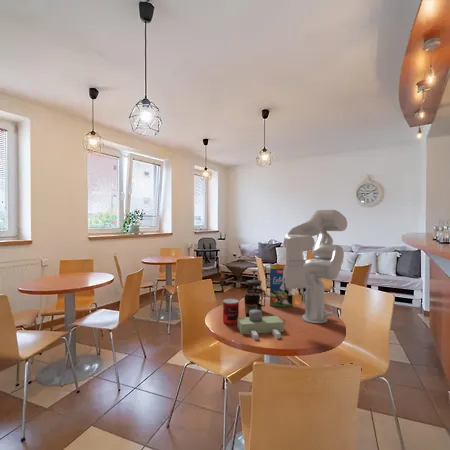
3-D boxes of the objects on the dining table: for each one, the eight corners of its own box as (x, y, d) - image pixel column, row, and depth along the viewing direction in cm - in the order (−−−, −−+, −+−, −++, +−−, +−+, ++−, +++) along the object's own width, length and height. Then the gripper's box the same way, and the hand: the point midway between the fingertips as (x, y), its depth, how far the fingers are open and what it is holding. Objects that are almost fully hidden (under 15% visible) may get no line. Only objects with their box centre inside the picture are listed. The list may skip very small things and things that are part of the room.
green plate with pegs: (277, 324, 139) (277, 307, 139) (289, 337, 123) (289, 318, 123) (237, 326, 136) (237, 309, 136) (244, 340, 120) (244, 320, 120)
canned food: (229, 318, 147) (229, 297, 147) (241, 322, 142) (241, 300, 142) (219, 322, 141) (220, 300, 141) (232, 326, 136) (232, 303, 136)
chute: (296, 302, 132) (296, 291, 132) (301, 306, 126) (301, 295, 126) (288, 302, 131) (288, 292, 131) (293, 307, 125) (293, 296, 125)
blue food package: (270, 303, 176) (270, 263, 176) (289, 304, 174) (289, 264, 174) (269, 306, 170) (270, 265, 170) (290, 307, 168) (290, 265, 168)
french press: (243, 312, 158) (243, 271, 158) (246, 307, 167) (246, 268, 167) (264, 314, 155) (264, 272, 155) (265, 309, 164) (266, 269, 164)
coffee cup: (259, 322, 142) (259, 296, 142) (242, 320, 144) (243, 295, 144) (260, 316, 151) (260, 292, 151) (245, 315, 153) (245, 291, 153)
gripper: (308, 261, 133) (308, 299, 134) (274, 262, 130) (274, 301, 131) (315, 263, 126) (316, 304, 126) (279, 265, 123) (280, 307, 124)
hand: (294, 302), depth 129 cm, fingers closed on chute, 4 cm apart
